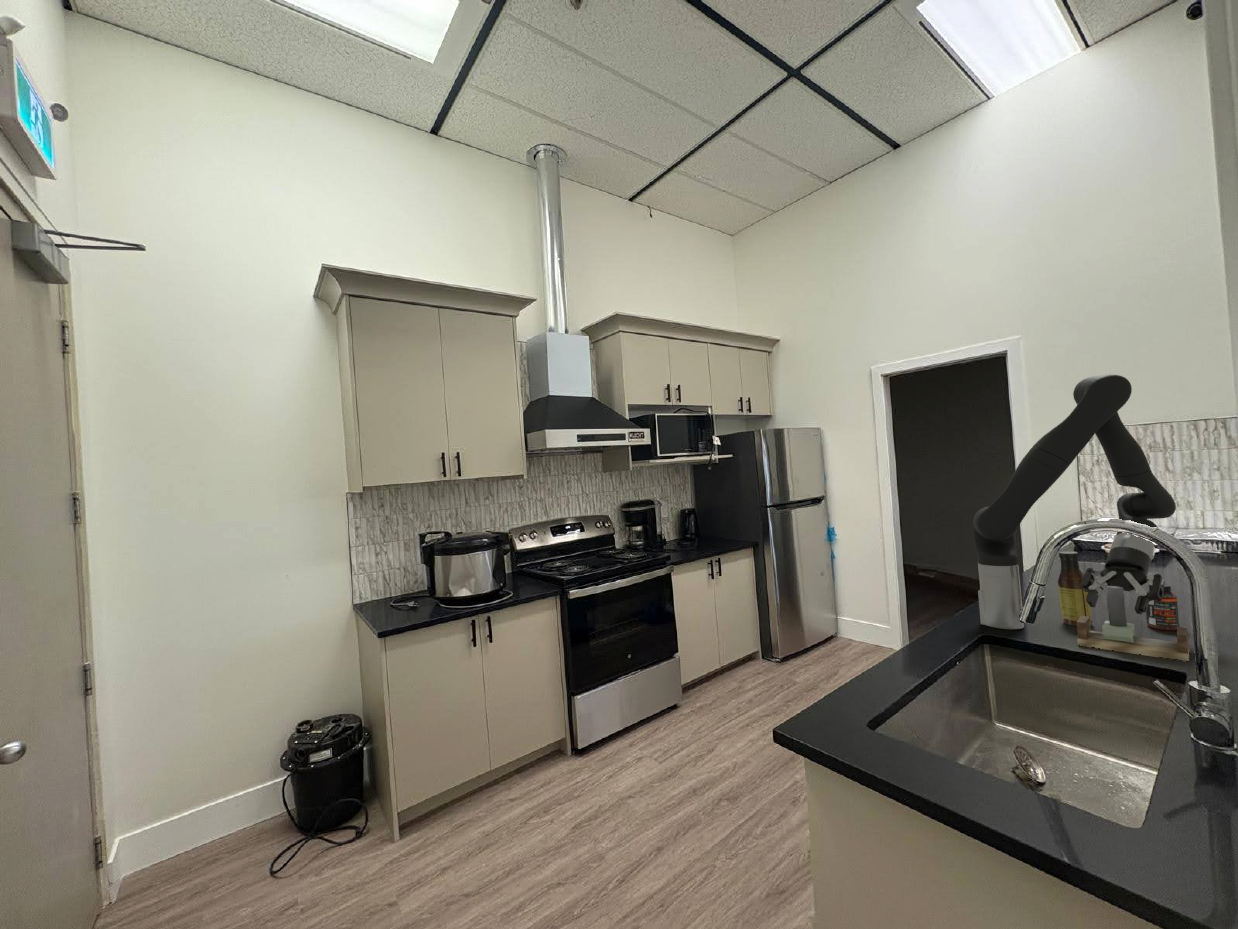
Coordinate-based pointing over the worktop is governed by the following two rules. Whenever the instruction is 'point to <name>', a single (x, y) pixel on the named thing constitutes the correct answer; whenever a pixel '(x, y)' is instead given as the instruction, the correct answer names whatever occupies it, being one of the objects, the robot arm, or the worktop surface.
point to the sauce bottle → (1072, 589)
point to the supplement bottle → (1163, 611)
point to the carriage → (1117, 617)
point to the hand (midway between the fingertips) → (1113, 608)
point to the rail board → (1135, 643)
